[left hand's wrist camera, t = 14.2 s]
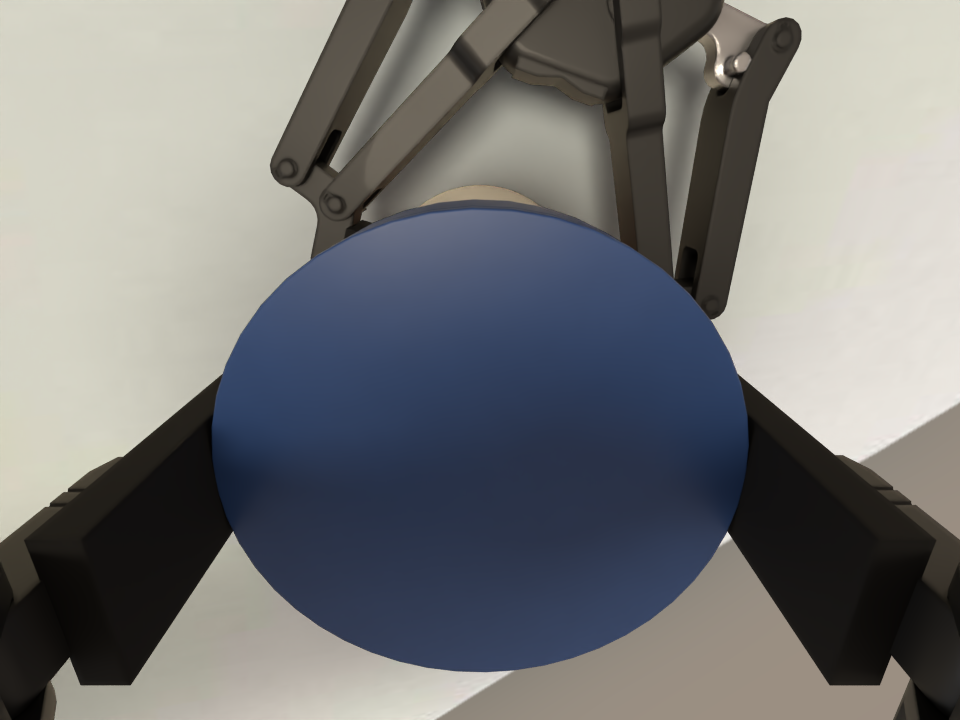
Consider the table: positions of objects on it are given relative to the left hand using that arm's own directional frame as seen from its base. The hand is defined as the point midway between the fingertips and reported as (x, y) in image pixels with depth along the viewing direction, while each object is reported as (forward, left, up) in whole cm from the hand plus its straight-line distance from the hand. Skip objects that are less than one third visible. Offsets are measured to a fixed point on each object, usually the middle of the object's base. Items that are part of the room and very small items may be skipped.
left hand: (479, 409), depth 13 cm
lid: (0, 0, +3) cm, 3 cm away
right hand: (-4, -2, -8) cm, 9 cm away
